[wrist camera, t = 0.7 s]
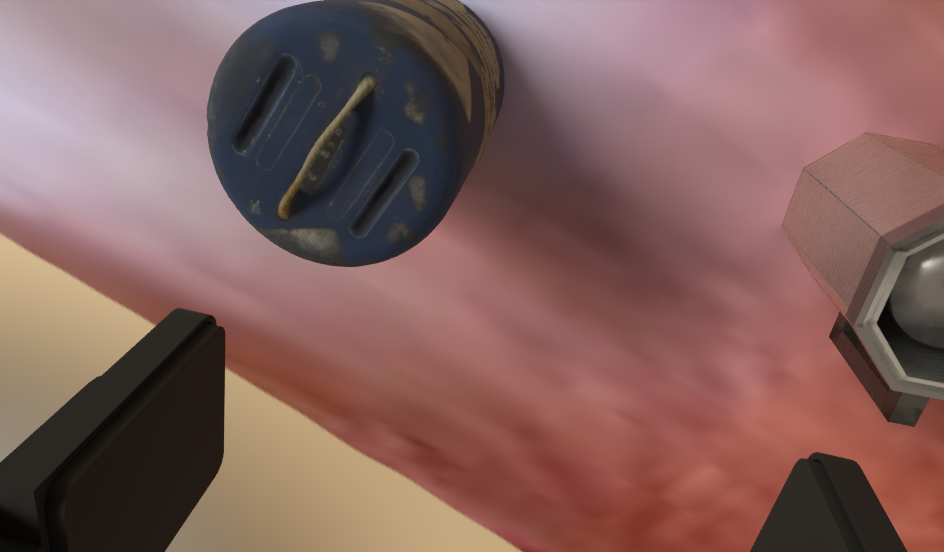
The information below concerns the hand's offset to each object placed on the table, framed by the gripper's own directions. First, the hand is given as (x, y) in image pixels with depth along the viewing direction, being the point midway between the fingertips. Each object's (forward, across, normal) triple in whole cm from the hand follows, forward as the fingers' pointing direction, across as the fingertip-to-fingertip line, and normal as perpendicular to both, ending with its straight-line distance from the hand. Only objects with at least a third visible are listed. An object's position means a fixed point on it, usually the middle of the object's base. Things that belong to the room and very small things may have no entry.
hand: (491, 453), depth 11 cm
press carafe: (+30, -19, +4) cm, 36 cm away
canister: (+30, +7, 0) cm, 31 cm away
